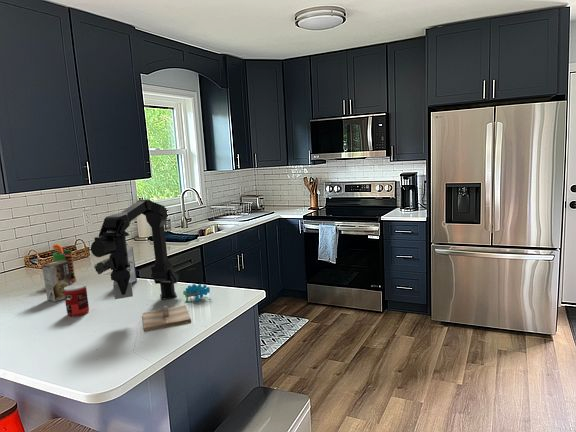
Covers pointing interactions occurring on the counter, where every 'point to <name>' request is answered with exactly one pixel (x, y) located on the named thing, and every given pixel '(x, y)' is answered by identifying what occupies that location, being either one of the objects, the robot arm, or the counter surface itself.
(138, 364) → the counter surface
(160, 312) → the plate
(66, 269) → the coffee box
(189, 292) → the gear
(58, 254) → the multicoloured piece
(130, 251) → the milk carton
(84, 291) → the canned food
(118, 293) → the grey box with handle
